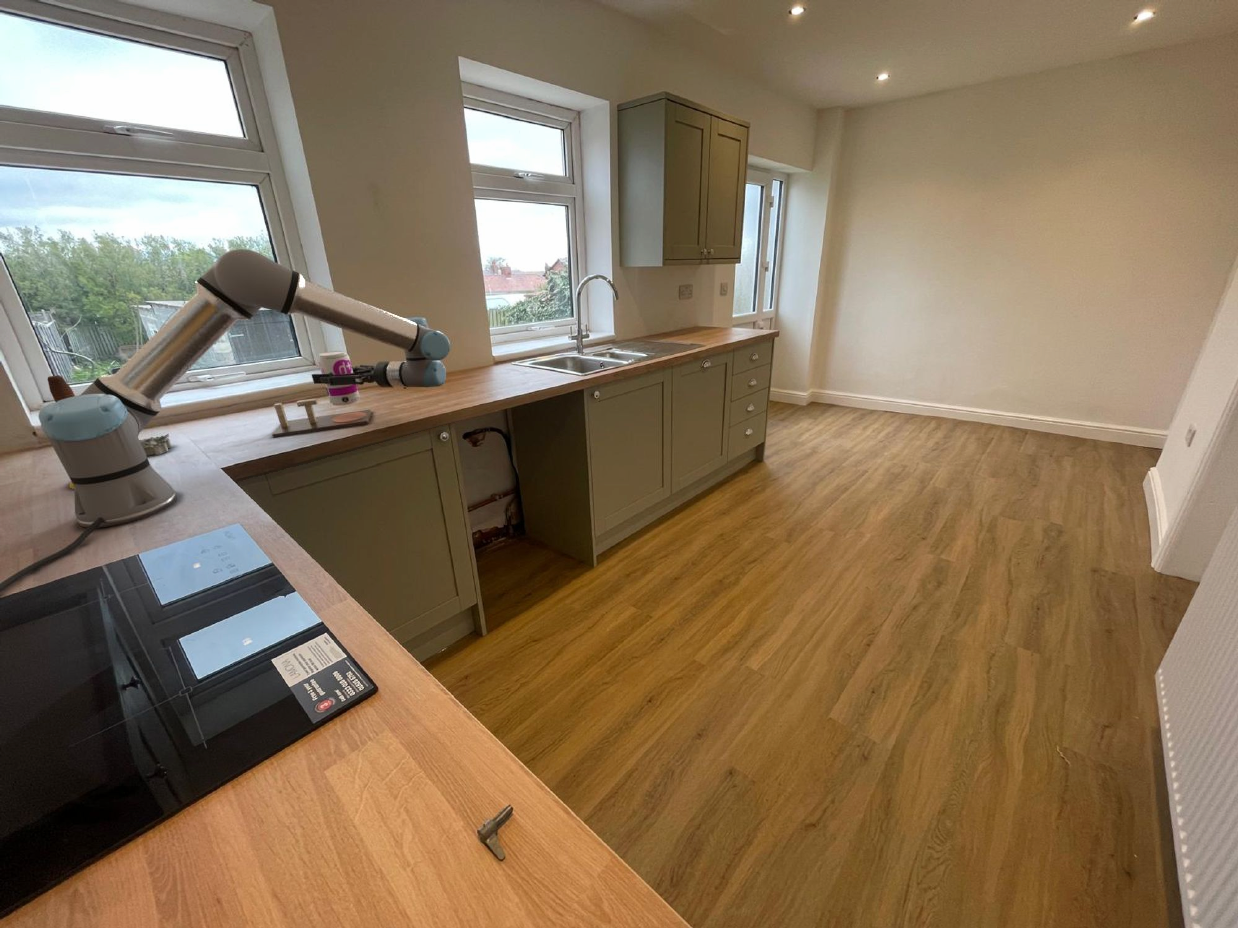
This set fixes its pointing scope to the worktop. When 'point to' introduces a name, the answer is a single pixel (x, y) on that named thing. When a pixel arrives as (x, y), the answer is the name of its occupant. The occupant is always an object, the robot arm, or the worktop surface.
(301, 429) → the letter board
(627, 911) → the worktop surface
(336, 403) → the supplement can
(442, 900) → the worktop surface
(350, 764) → the worktop surface
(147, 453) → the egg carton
